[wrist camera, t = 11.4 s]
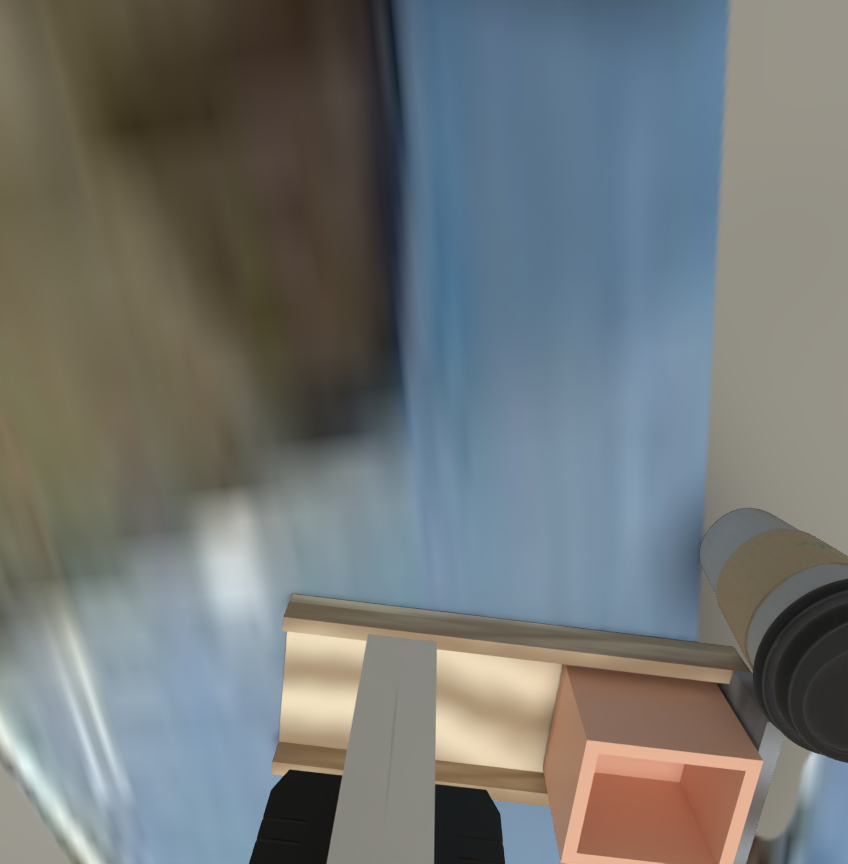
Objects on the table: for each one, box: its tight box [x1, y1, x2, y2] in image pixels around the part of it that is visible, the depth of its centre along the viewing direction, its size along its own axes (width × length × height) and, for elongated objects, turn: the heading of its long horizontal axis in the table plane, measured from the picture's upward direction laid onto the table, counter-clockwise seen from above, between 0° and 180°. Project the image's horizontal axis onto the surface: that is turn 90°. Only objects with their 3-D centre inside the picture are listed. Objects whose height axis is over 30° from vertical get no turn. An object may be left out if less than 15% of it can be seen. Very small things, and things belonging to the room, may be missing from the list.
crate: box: [543, 664, 763, 864], centre depth 45 cm, size 9×10×8 cm
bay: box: [271, 594, 785, 864], centre depth 47 cm, size 12×30×8 cm, turn 83°
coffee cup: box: [700, 508, 848, 763], centre depth 40 cm, size 9×9×15 cm
